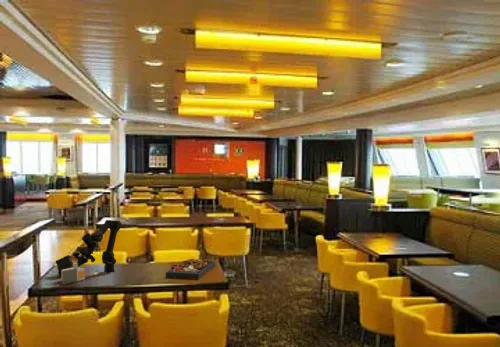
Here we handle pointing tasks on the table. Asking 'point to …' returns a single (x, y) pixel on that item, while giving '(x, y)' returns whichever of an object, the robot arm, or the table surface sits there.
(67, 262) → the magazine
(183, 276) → the food platter
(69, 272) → the side door
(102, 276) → the table surface
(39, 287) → the table surface
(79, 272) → the block
